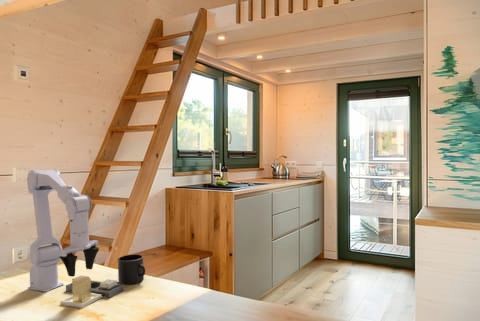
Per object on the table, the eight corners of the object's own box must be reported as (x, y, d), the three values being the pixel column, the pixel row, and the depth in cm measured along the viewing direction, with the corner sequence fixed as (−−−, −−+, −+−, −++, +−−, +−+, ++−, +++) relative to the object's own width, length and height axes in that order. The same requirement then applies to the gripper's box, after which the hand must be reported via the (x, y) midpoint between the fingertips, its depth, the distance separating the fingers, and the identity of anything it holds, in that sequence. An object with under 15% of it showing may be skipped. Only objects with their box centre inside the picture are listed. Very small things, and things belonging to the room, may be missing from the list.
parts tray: (60, 304, 120) (60, 301, 120) (81, 294, 128) (81, 291, 128) (81, 308, 117) (81, 304, 117) (101, 297, 125) (101, 294, 125)
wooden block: (72, 301, 121) (72, 280, 121) (82, 297, 125) (81, 276, 125) (81, 303, 120) (81, 282, 120) (91, 298, 124) (90, 278, 123)
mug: (136, 287, 134) (135, 263, 134) (113, 282, 140) (112, 259, 140) (153, 279, 143) (153, 256, 142) (131, 275, 148) (130, 253, 148)
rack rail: (65, 290, 132) (65, 280, 132) (81, 284, 139) (81, 273, 139) (109, 297, 125) (109, 286, 125) (123, 290, 132) (123, 279, 131)
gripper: (71, 237, 114) (72, 280, 114) (104, 228, 127) (105, 267, 128) (54, 236, 117) (55, 278, 117) (89, 227, 130) (90, 265, 130)
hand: (80, 272), depth 122 cm, fingers open, 7 cm apart
